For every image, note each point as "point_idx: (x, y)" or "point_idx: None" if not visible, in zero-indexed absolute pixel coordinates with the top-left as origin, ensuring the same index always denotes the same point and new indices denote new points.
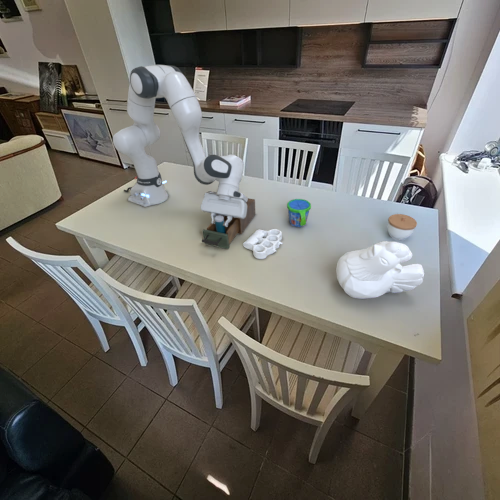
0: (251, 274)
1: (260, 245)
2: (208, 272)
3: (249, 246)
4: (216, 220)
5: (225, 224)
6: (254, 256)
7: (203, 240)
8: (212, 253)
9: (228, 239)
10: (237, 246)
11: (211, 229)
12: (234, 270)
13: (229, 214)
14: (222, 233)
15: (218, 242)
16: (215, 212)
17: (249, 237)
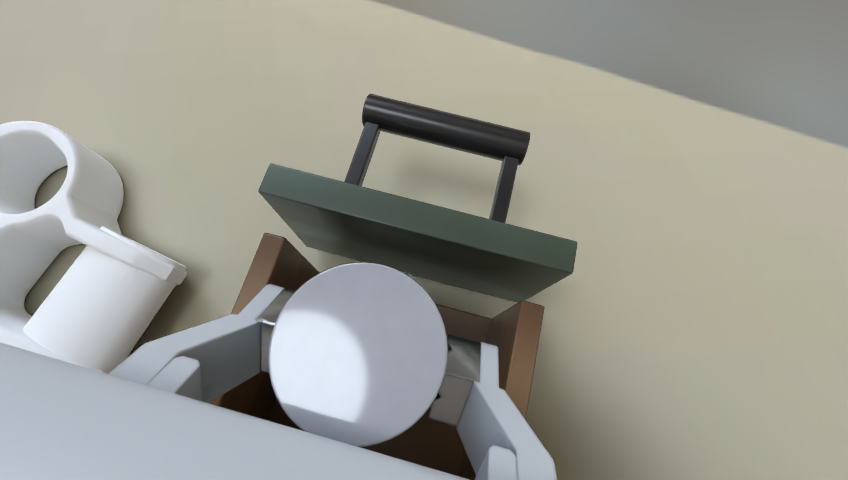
0: (157, 32)
1: (3, 213)
2: (416, 35)
3: (124, 236)
4: (396, 271)
5: (271, 295)
6: (115, 170)
7: (511, 129)
8: (433, 194)
9: (280, 214)
10: None
11: None
12: (260, 55)
13: (89, 378)
14: (324, 203)
15: (364, 134)
16: (454, 475)
17: (101, 352)
